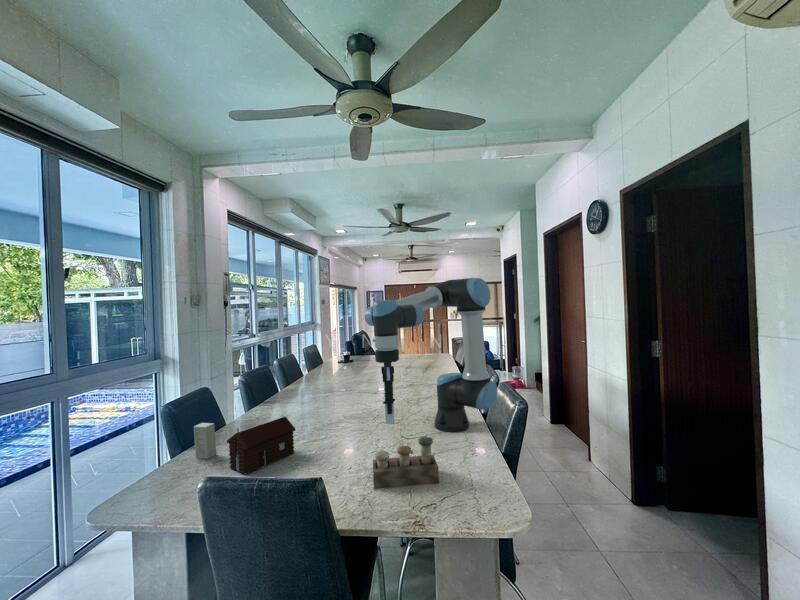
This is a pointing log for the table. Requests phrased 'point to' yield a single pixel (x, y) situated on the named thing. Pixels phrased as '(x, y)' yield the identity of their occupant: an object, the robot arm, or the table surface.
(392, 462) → the socket block
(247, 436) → the model building
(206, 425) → the skincare box
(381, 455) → the plug cream
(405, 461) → the plug terracotta
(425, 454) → the plug charcoal
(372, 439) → the table surface
